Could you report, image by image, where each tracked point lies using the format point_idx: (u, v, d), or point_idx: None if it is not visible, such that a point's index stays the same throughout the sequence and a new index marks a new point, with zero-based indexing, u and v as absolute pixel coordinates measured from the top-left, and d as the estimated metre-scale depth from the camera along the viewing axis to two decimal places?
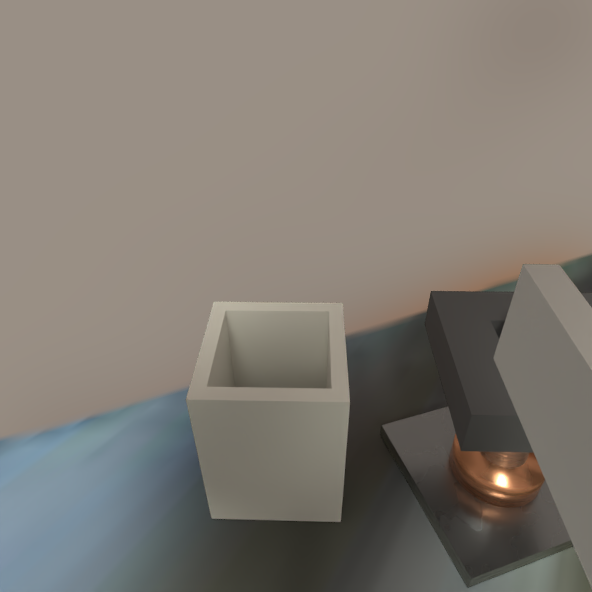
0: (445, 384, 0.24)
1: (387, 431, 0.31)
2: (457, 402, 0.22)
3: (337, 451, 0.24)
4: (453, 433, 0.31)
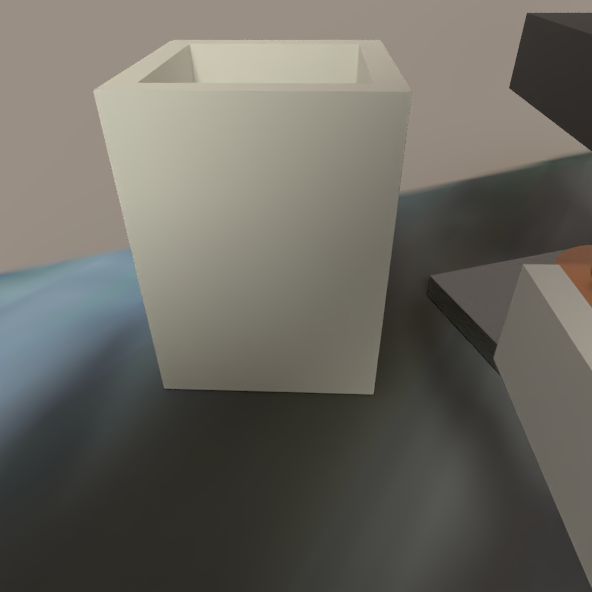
0: (573, 114, 0.13)
1: (439, 282, 0.21)
2: None
3: (378, 230, 0.13)
4: None
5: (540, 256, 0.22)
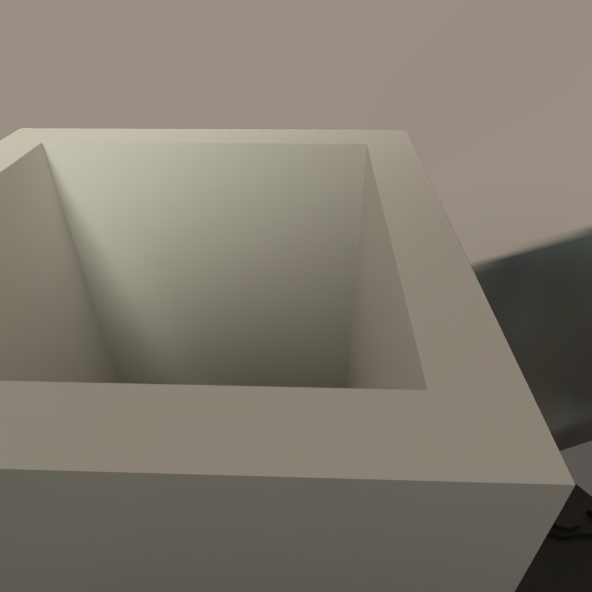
0: None
1: None
2: None
3: None
4: None
5: None
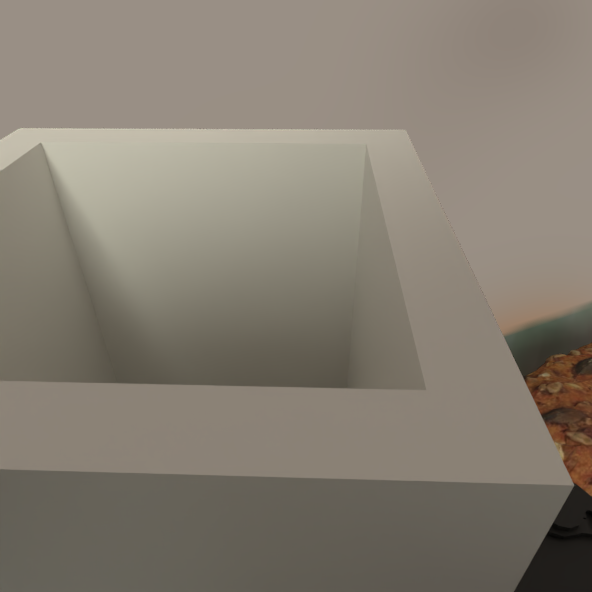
0: None
1: None
2: None
3: None
4: None
5: None
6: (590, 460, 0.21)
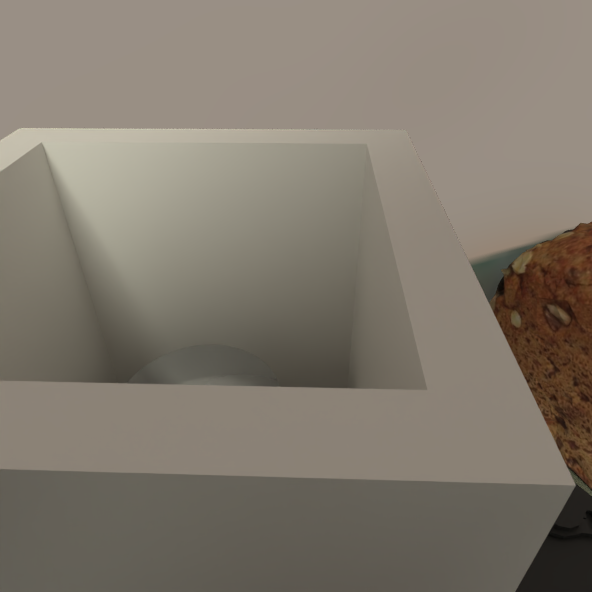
0: None
1: None
2: None
3: None
4: None
5: None
6: None
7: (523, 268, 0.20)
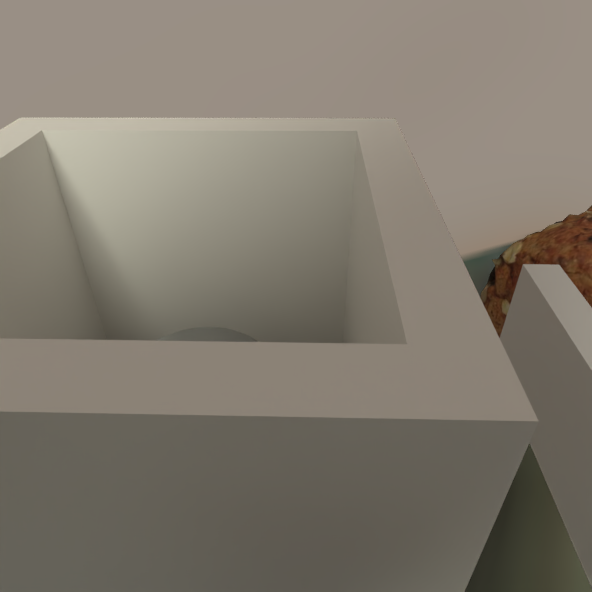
0: None
1: None
2: None
3: None
4: None
5: None
6: None
7: (513, 258, 0.21)
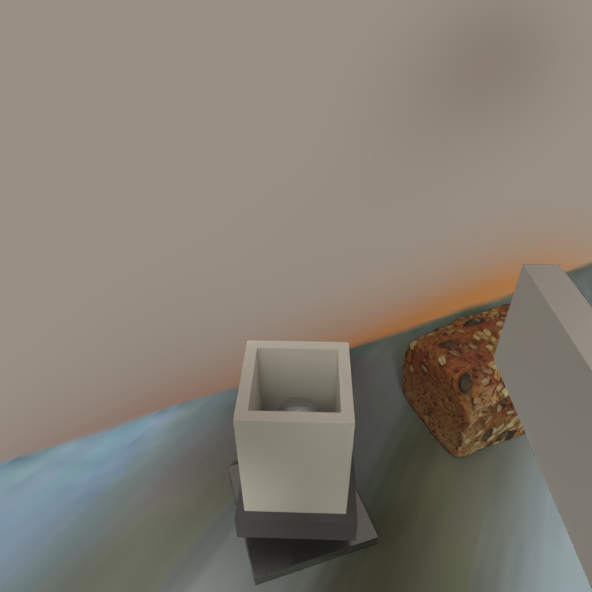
0: None
1: (230, 471, 0.43)
2: None
3: (344, 459, 0.31)
4: None
5: None
6: (456, 362, 0.42)
7: (412, 347, 0.47)
